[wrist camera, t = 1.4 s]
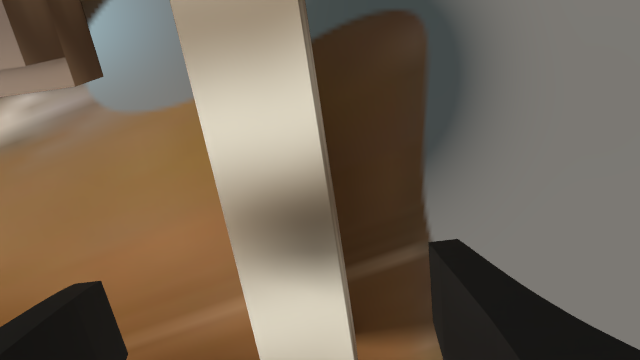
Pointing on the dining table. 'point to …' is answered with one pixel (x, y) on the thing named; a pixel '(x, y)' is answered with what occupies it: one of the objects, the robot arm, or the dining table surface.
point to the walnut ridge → (44, 46)
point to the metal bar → (271, 170)
